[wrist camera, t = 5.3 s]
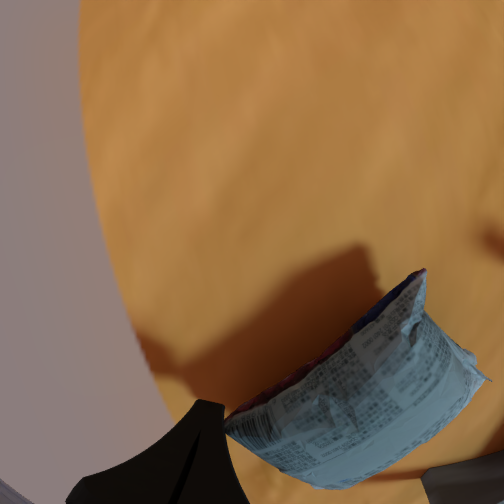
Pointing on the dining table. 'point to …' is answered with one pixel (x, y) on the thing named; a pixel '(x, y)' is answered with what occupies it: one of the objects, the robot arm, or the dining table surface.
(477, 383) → the packaged food
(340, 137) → the dining table surface
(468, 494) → the grey u-shaped bracket
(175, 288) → the dining table surface
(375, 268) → the dining table surface
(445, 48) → the dining table surface
